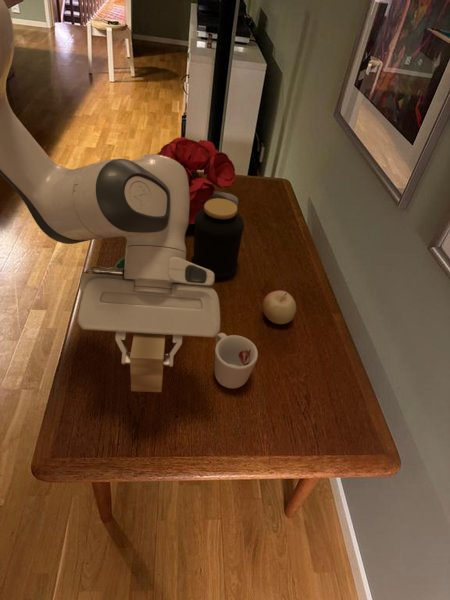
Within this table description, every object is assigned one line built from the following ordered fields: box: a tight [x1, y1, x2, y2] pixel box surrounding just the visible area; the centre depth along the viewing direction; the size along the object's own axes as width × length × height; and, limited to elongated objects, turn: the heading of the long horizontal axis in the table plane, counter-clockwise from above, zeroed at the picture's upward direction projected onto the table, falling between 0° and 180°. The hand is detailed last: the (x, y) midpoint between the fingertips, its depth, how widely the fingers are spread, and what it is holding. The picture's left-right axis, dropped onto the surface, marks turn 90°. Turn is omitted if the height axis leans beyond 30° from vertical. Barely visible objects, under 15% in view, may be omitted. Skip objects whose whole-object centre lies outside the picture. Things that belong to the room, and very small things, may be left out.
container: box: [191, 198, 245, 279], centre depth 97 cm, size 12×12×18 cm
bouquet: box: [156, 136, 239, 226], centre depth 113 cm, size 22×24×30 cm
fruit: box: [261, 289, 297, 325], centre depth 90 cm, size 8×7×8 cm
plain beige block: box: [129, 333, 166, 393], centre depth 59 cm, size 4×4×8 cm
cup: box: [214, 332, 259, 389], centre depth 77 cm, size 11×8×8 cm
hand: (147, 365), depth 58 cm, fingers closed on plain beige block, 4 cm apart
